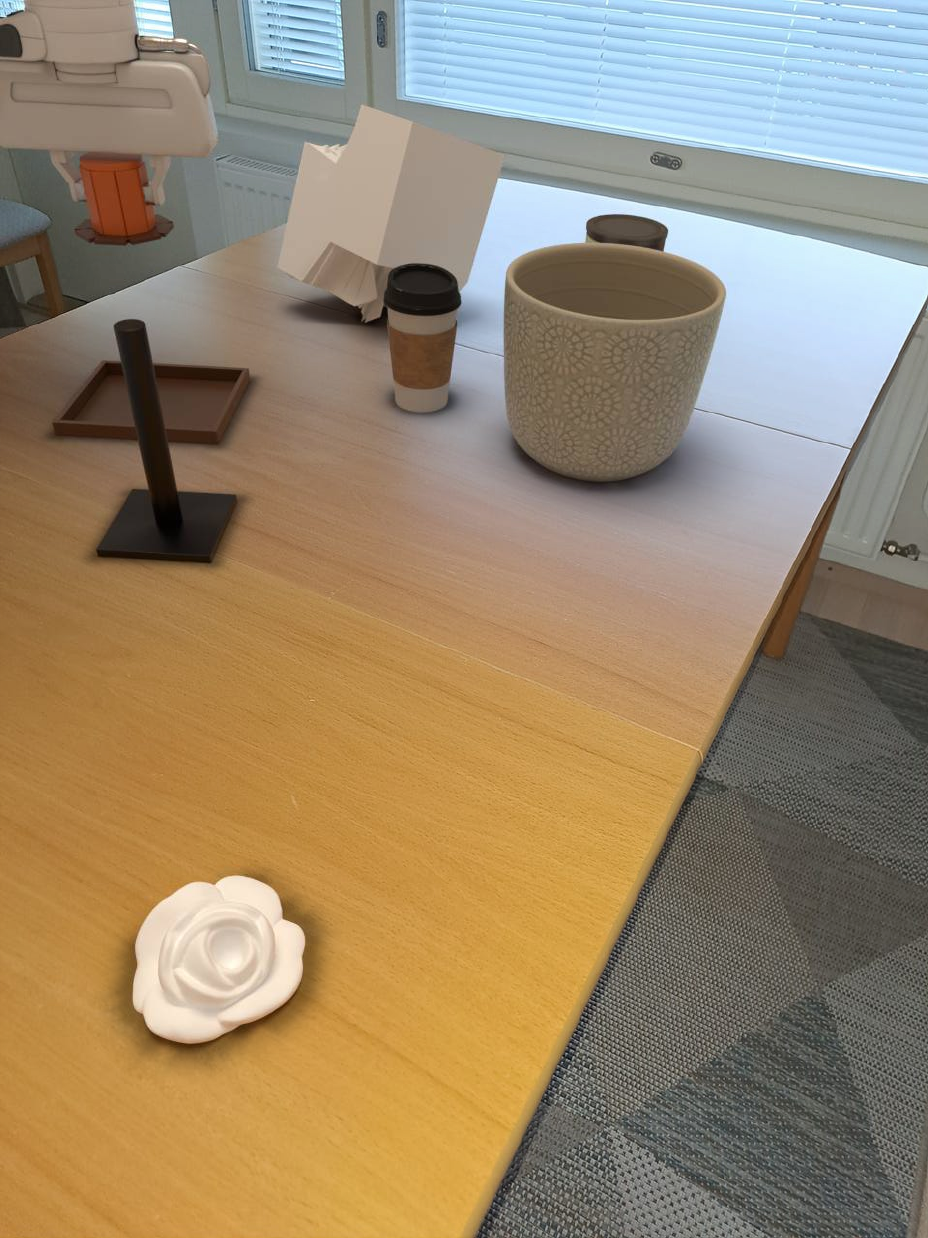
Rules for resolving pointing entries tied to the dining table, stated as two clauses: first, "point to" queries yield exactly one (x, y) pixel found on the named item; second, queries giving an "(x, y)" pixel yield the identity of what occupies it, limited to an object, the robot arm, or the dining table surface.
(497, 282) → the dining table surface
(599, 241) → the coffee can
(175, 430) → the tray
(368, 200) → the tissue box
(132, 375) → the stand
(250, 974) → the rose
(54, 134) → the robot arm
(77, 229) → the hat
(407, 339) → the coffee cup
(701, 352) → the planter
